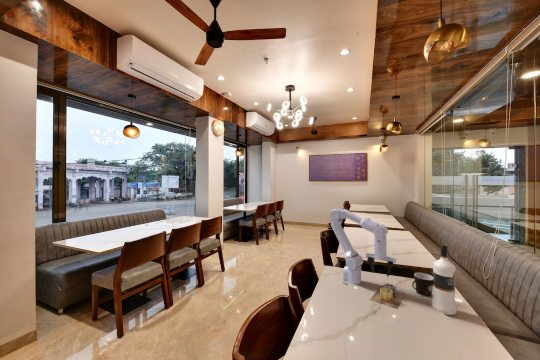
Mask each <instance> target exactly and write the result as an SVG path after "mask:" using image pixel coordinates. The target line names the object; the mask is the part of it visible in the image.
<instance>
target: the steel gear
mask: <svg viewBox="0 0 540 360" xmlns="http://www.w3.org/2000/svg"><path fill="white" fill-rule="evenodd" d="M382 285H383V286H382V287H383V288H389V289H390V290H392V291H393V297H395V296H396V291H397V287H396V286H395V285H394V284H392V283H383V284H382ZM388 286H391V287H388Z"/></svg>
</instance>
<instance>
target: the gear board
mask: <svg viewBox="0 0 540 360" xmlns="http://www.w3.org/2000/svg"><path fill="white" fill-rule="evenodd" d="M388 287H391V286H388ZM380 288H383V286H379V287H378V289H377V290H376V292H375V293H374V294H373V295H372V297H371V298H370V299H369V300H370V301H372V302H375V303H376V304H377V303H378V304H381V305H383V306H387V307H389V308H392V309H396V310H399V309H398V308H399V306H400V305H401V303H402V301H403V299H404V297H405V295H406V293H404V292H401V291H397V290H396V296H395V297H393V302H390V303H388V302H384V301H383V300H381V299H380ZM385 291H386V292H388V290H385Z"/></svg>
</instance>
